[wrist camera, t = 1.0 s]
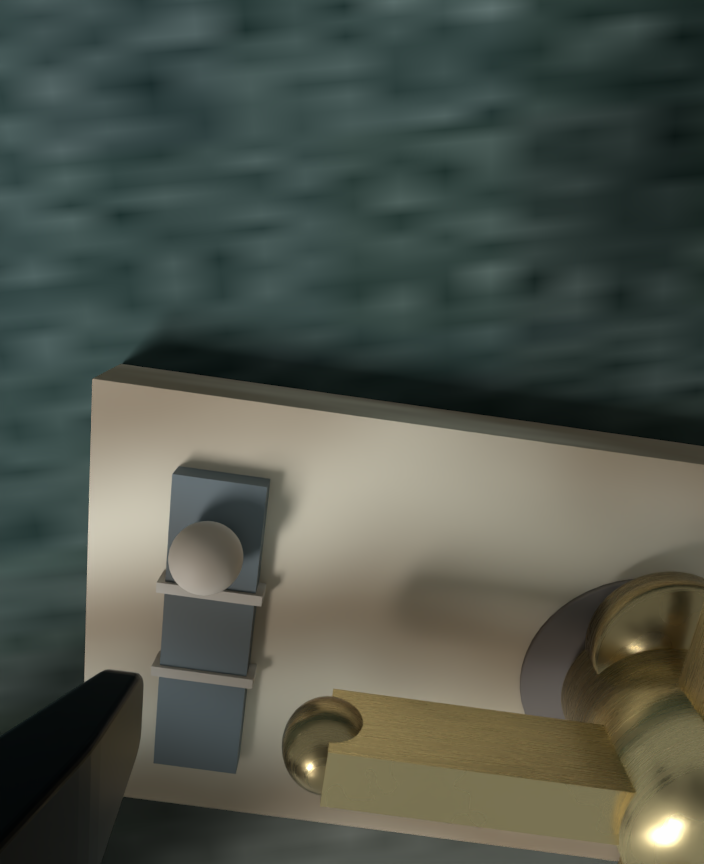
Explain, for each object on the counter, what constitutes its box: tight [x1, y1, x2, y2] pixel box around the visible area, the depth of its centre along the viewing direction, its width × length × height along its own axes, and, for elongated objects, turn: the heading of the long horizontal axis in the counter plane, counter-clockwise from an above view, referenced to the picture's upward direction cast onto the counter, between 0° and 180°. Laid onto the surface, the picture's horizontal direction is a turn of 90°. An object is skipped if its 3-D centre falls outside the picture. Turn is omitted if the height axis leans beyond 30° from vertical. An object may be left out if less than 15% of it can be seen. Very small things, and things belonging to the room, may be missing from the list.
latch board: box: [84, 364, 704, 861], centre depth 18 cm, size 13×24×4 cm, turn 82°
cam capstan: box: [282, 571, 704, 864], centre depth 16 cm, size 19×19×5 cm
